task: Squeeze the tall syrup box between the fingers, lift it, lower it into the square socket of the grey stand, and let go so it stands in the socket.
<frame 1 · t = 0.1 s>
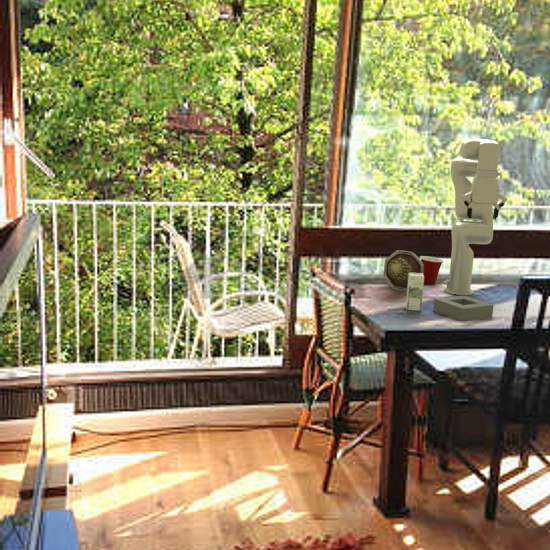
hand: (482, 218, 299), 37 cm above the table, tool pointing down, fingers open, 9 cm apart
plastic cup: (429, 283, 354), on the table
socket stand: (462, 314, 301), on the table
potted plant: (400, 291, 337), on the table
syrup box: (413, 309, 305), on the table
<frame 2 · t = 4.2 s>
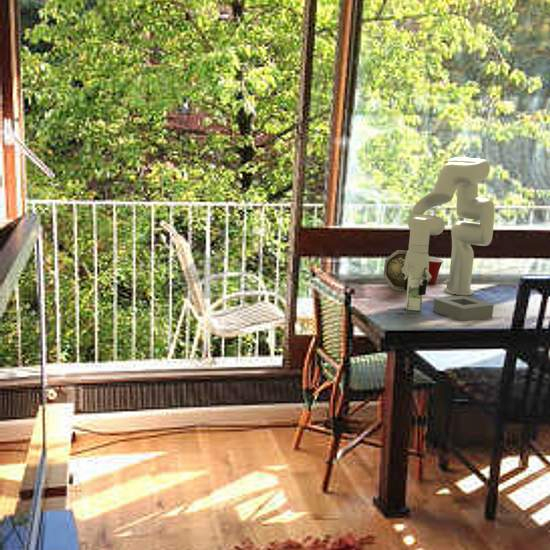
hand: (414, 292, 303), 7 cm above the table, tool pointing down, fingers closed on syrup box, 8 cm apart
syrup box: (413, 309, 305), on the table, touching gripper
everything else where it was.
when the fingers open (9 cm above the table, at t = 11.0 s): syrup box drops 2 cm, resting in socket stand.
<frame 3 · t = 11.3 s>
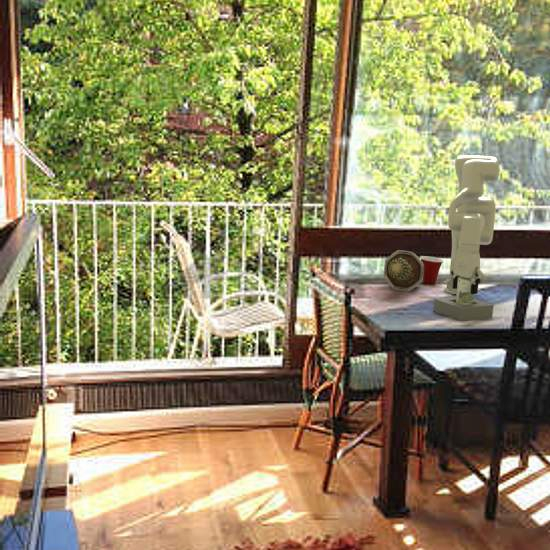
hand: (464, 291, 299), 9 cm above the table, tool pointing down, fingers open, 9 cm apart
syrup box: (462, 314, 301), resting in socket stand
everything else where it was.
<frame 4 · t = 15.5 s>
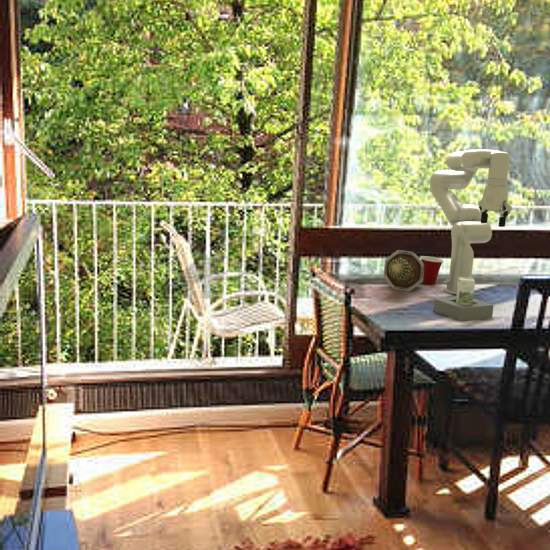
hand: (492, 224, 312), 33 cm above the table, tool pointing down, fingers open, 9 cm apart
nothing on the table moved.
at the end: syrup box 0.1 cm off-centre on the socket stand, point 0.0 cm above the socket stand's base; syrup box tilted 0°; the gripper is holding nothing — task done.
